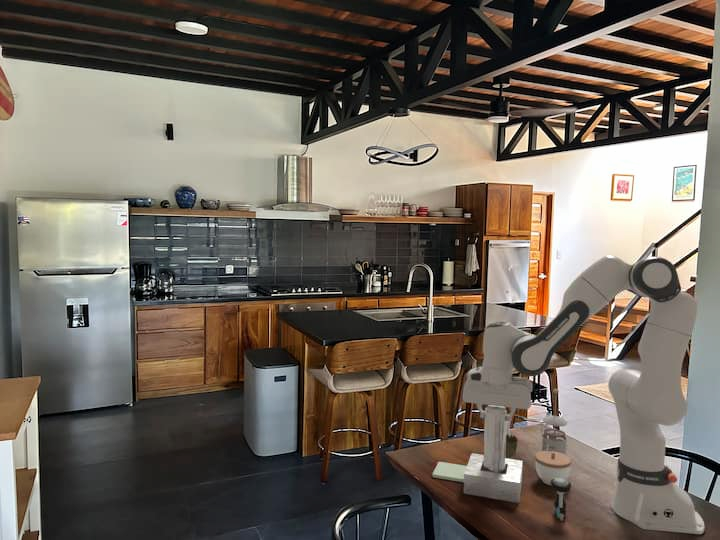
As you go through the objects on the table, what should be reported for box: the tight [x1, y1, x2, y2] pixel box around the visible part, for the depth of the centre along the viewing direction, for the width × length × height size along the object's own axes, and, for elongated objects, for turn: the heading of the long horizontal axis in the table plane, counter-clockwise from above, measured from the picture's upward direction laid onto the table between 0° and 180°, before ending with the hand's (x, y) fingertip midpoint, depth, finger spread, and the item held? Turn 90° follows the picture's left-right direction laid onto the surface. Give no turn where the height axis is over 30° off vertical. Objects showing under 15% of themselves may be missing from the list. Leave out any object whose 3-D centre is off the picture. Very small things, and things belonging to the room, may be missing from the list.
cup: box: [506, 434, 519, 459], centre depth 181 cm, size 8×7×8 cm
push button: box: [550, 477, 572, 521], centre depth 146 cm, size 7×5×10 cm
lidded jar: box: [534, 450, 572, 486], centre depth 166 cm, size 11×11×9 cm
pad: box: [431, 461, 467, 483], centre depth 171 cm, size 10×10×1 cm
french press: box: [540, 388, 568, 455], centre depth 182 cm, size 10×12×25 cm
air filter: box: [483, 405, 508, 474], centre depth 162 cm, size 6×6×25 cm
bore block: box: [463, 452, 524, 504], centre depth 162 cm, size 16×16×6 cm
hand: (495, 419), depth 161 cm, fingers closed on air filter, 6 cm apart
